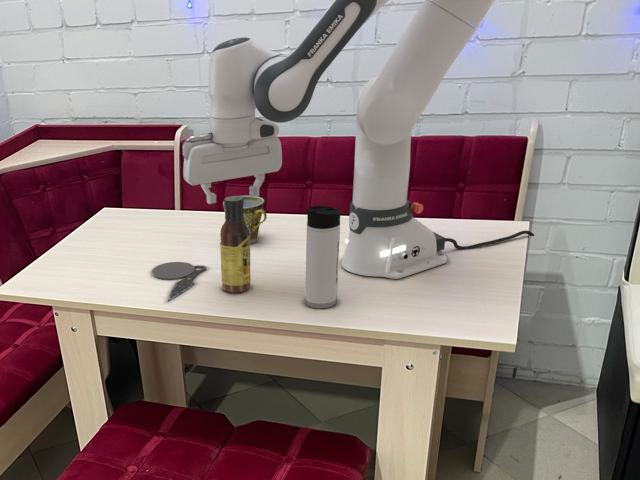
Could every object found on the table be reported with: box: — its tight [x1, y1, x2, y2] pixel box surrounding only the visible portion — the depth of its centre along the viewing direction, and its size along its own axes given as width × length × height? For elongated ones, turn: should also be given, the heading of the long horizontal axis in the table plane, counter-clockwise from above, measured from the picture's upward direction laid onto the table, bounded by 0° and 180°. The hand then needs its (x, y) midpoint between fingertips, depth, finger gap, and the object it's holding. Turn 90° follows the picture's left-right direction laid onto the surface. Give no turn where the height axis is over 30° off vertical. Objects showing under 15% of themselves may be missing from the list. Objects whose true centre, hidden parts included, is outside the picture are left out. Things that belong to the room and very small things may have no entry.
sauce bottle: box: [219, 195, 251, 294], centre depth 158 cm, size 6×6×20 cm
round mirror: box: [151, 261, 195, 281], centre depth 174 cm, size 10×10×1 cm
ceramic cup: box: [222, 195, 267, 245], centre depth 184 cm, size 13×10×10 cm
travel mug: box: [304, 205, 341, 309], centre depth 147 cm, size 6×7×20 cm
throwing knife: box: [167, 265, 207, 302], centre depth 168 cm, size 4×20×1 cm, turn 154°
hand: (233, 199), depth 153 cm, fingers open, 8 cm apart
